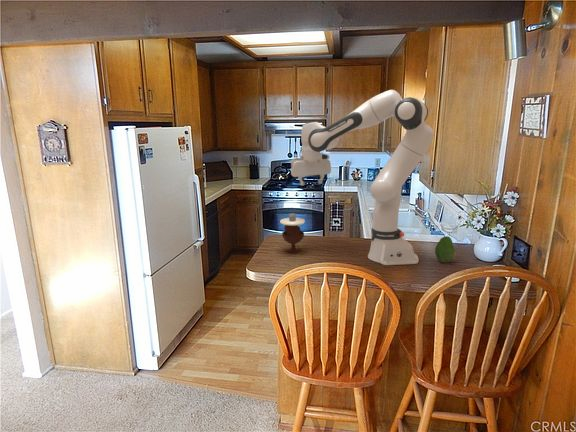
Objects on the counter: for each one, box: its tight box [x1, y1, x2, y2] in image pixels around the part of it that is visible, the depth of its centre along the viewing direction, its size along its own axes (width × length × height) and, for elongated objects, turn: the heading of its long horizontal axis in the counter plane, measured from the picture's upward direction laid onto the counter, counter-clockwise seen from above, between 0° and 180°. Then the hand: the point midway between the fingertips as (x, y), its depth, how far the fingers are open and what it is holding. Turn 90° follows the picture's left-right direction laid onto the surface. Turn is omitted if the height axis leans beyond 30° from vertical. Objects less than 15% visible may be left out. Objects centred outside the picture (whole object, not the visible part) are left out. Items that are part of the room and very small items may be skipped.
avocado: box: [434, 235, 455, 264], centre depth 164 cm, size 8×8×12 cm
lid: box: [279, 213, 306, 226], centre depth 179 cm, size 12×12×4 cm
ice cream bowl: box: [281, 225, 305, 254], centre depth 181 cm, size 11×11×15 cm
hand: (311, 184), depth 183 cm, fingers open, 8 cm apart
